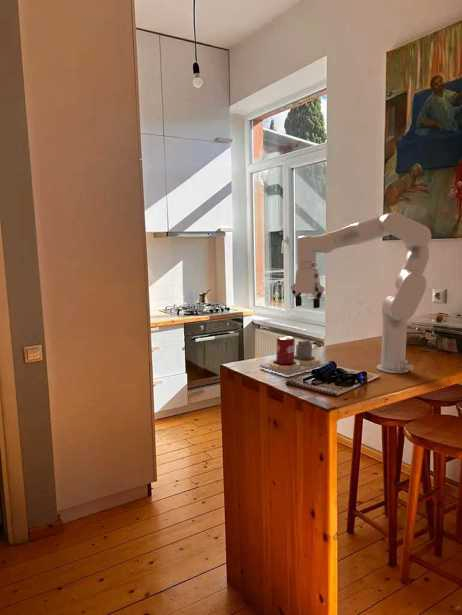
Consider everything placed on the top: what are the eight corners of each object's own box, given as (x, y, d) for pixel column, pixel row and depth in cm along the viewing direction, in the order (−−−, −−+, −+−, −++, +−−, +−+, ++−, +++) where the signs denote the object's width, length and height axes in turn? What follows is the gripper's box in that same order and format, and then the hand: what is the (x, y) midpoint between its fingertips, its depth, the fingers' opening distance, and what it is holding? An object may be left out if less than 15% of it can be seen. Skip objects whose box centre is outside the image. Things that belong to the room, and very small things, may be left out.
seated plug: (314, 361, 198) (315, 341, 197) (304, 364, 194) (304, 343, 192) (303, 358, 203) (303, 338, 202) (293, 361, 199) (293, 340, 198)
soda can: (273, 366, 189) (274, 338, 187) (279, 362, 196) (280, 335, 194) (290, 369, 186) (291, 340, 184) (295, 364, 193) (296, 336, 191)
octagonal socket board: (328, 367, 197) (328, 359, 196) (287, 377, 181) (287, 369, 180) (300, 359, 209) (300, 352, 208) (259, 369, 193) (260, 361, 193)
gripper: (329, 265, 185) (329, 307, 187) (296, 265, 198) (297, 304, 200) (317, 266, 180) (318, 309, 182) (285, 266, 193) (285, 306, 195)
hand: (307, 307), depth 191 cm, fingers open, 9 cm apart
